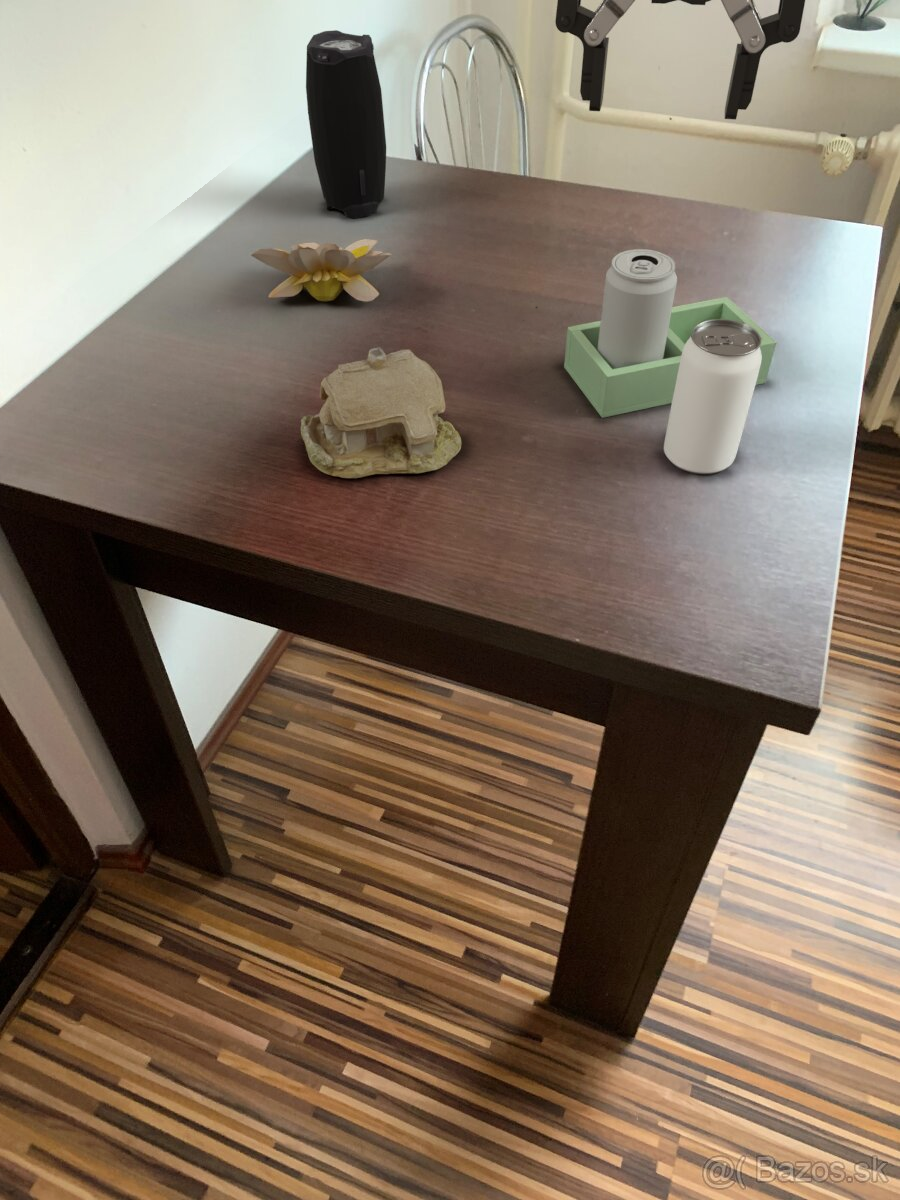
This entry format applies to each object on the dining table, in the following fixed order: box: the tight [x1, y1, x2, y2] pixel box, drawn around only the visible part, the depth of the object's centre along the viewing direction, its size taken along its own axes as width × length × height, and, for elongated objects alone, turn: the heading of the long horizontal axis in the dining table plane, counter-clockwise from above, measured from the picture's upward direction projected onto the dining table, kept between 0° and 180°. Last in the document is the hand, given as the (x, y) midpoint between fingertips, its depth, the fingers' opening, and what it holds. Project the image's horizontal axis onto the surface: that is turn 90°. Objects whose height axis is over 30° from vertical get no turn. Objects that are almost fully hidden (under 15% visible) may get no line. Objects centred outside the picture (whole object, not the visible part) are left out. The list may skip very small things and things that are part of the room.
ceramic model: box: [300, 346, 462, 479], centre depth 79 cm, size 14×11×10 cm
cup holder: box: [563, 296, 777, 419], centre depth 88 cm, size 9×18×5 cm, turn 108°
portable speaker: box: [305, 29, 387, 219], centre depth 111 cm, size 9×9×20 cm
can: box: [663, 319, 762, 475], centre depth 76 cm, size 6×6×12 cm
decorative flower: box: [250, 238, 392, 303], centre depth 99 cm, size 15×11×10 cm
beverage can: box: [597, 248, 678, 369], centre depth 84 cm, size 6×6×12 cm
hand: (662, 111), depth 57 cm, fingers open, 8 cm apart
